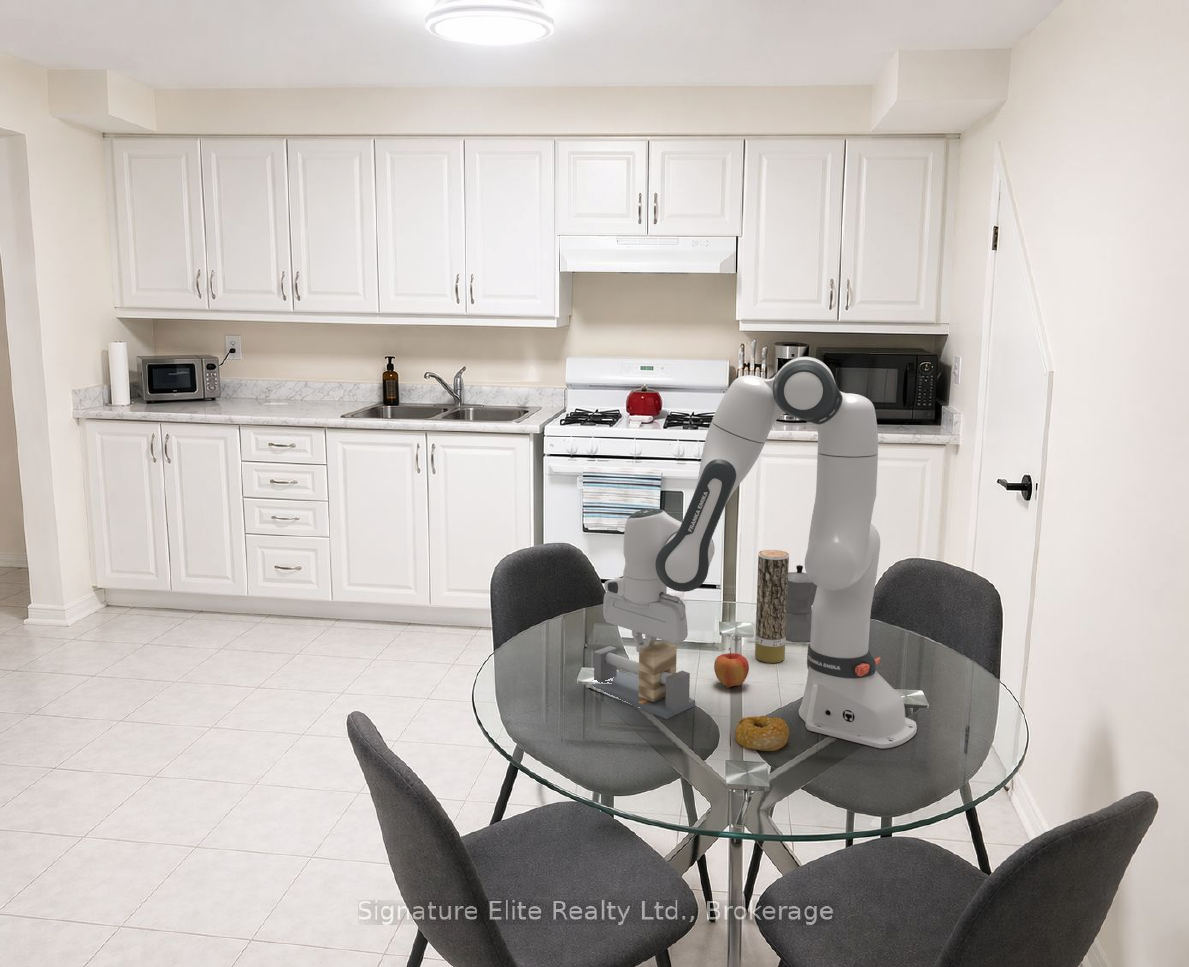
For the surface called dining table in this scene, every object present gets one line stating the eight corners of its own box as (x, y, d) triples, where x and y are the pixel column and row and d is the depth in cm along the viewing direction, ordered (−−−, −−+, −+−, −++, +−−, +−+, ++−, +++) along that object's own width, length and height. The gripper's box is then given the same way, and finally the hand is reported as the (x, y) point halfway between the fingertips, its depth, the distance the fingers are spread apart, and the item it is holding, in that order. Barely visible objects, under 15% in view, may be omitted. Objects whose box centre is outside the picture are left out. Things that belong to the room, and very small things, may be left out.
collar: (675, 691, 195) (676, 645, 194) (653, 701, 191) (654, 654, 189) (660, 686, 198) (661, 640, 196) (638, 696, 193) (639, 649, 191)
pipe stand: (695, 705, 194) (696, 670, 192) (666, 719, 187) (667, 682, 186) (616, 676, 209) (616, 643, 207) (587, 688, 202) (587, 654, 201)
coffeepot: (766, 639, 232) (769, 567, 229) (773, 626, 241) (775, 558, 237) (831, 646, 227) (834, 574, 224) (835, 634, 236) (839, 563, 232)
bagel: (780, 727, 184) (781, 704, 183) (795, 754, 173) (795, 730, 172) (729, 729, 184) (730, 706, 183) (741, 756, 173) (741, 732, 172)
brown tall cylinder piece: (783, 654, 222) (787, 550, 217) (786, 664, 216) (790, 558, 211) (753, 652, 223) (757, 549, 218) (755, 663, 216) (759, 557, 212)
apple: (721, 694, 199) (722, 658, 198) (708, 681, 206) (709, 646, 205) (753, 690, 201) (755, 654, 200) (739, 677, 208) (740, 642, 207)
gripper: (695, 595, 188) (693, 661, 191) (619, 575, 202) (618, 637, 205) (674, 602, 184) (673, 670, 186) (598, 581, 198) (598, 644, 200)
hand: (644, 652), depth 195 cm, fingers closed
